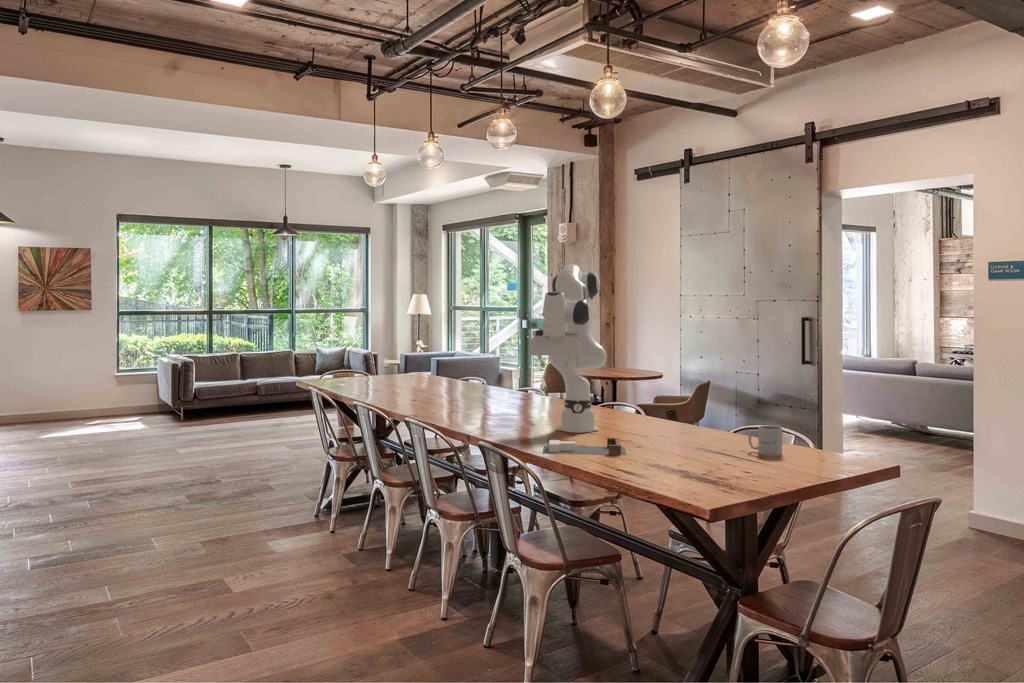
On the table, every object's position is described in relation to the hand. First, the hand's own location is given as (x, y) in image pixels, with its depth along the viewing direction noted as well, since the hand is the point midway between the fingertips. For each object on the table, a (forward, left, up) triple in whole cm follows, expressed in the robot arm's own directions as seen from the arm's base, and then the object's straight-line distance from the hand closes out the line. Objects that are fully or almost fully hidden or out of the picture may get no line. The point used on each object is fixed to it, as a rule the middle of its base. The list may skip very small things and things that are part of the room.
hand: (554, 366), depth 298 cm
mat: (+7, +12, -32) cm, 35 cm away
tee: (+7, +3, -32) cm, 33 cm away
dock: (+7, +23, -32) cm, 40 cm away
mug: (+4, +81, -33) cm, 88 cm away
